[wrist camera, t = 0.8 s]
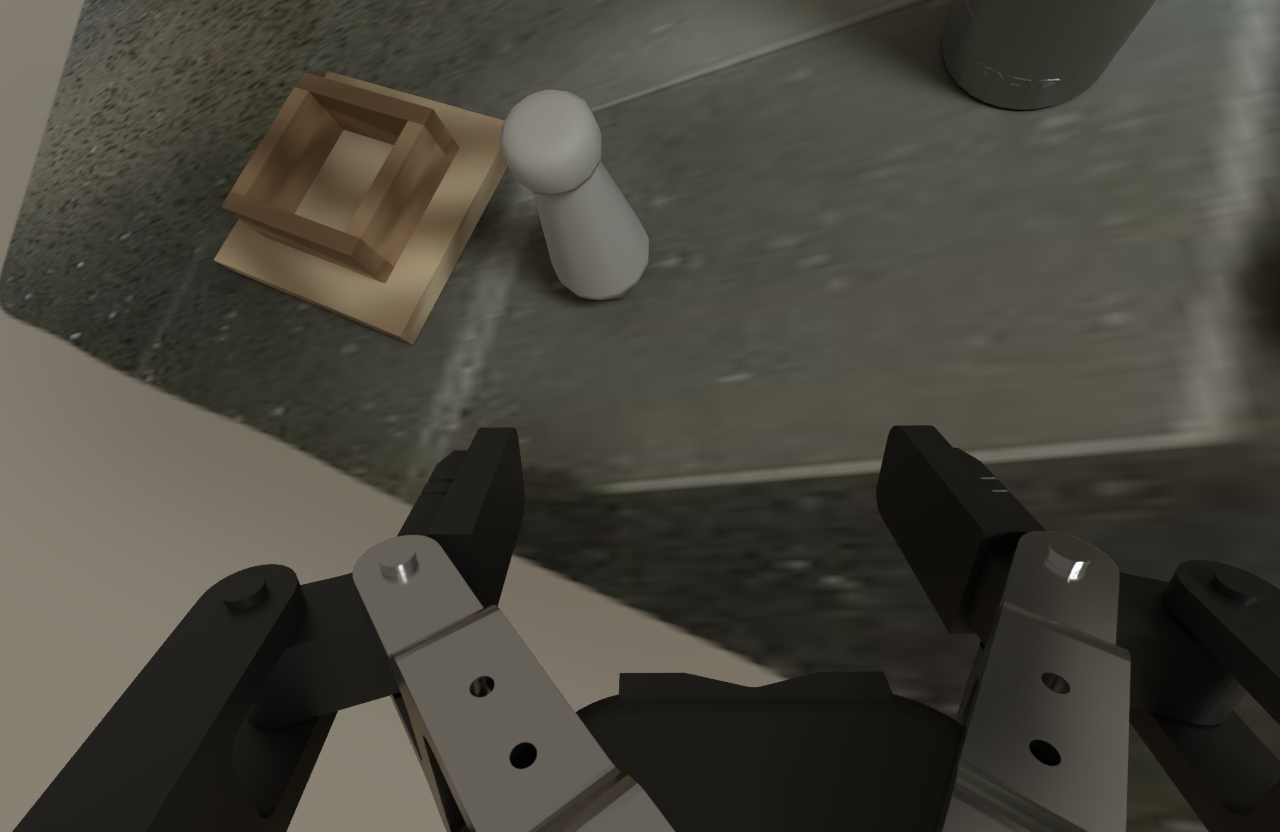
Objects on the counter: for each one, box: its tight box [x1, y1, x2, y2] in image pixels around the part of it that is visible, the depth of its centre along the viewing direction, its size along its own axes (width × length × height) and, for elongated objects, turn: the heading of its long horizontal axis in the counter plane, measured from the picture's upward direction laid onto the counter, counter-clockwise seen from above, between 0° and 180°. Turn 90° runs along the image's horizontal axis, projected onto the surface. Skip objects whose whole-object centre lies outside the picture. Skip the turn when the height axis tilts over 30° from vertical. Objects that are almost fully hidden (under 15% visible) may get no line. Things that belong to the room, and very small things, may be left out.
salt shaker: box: [500, 89, 649, 300], centre depth 30 cm, size 6×6×13 cm
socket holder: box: [214, 71, 508, 345], centre depth 39 cm, size 16×16×5 cm
